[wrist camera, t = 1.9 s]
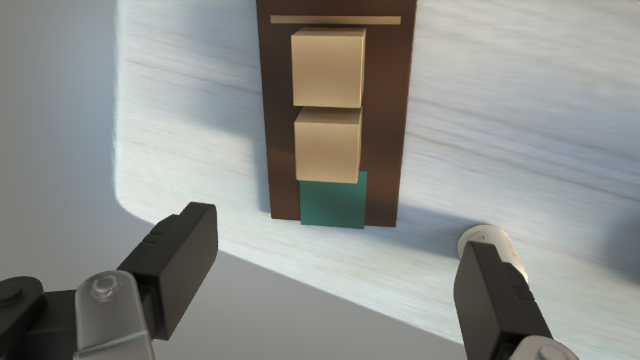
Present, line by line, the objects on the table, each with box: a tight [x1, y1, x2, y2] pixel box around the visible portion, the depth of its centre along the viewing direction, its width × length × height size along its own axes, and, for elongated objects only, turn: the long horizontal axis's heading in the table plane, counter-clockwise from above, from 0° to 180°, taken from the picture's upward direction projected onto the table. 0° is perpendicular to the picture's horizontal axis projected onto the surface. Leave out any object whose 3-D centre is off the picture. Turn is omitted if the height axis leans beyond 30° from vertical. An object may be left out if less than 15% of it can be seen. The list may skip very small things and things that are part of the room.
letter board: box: [256, 0, 417, 229], centre depth 26 cm, size 35×11×5 cm, turn 0°
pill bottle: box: [457, 225, 528, 284], centre depth 32 cm, size 4×4×8 cm
